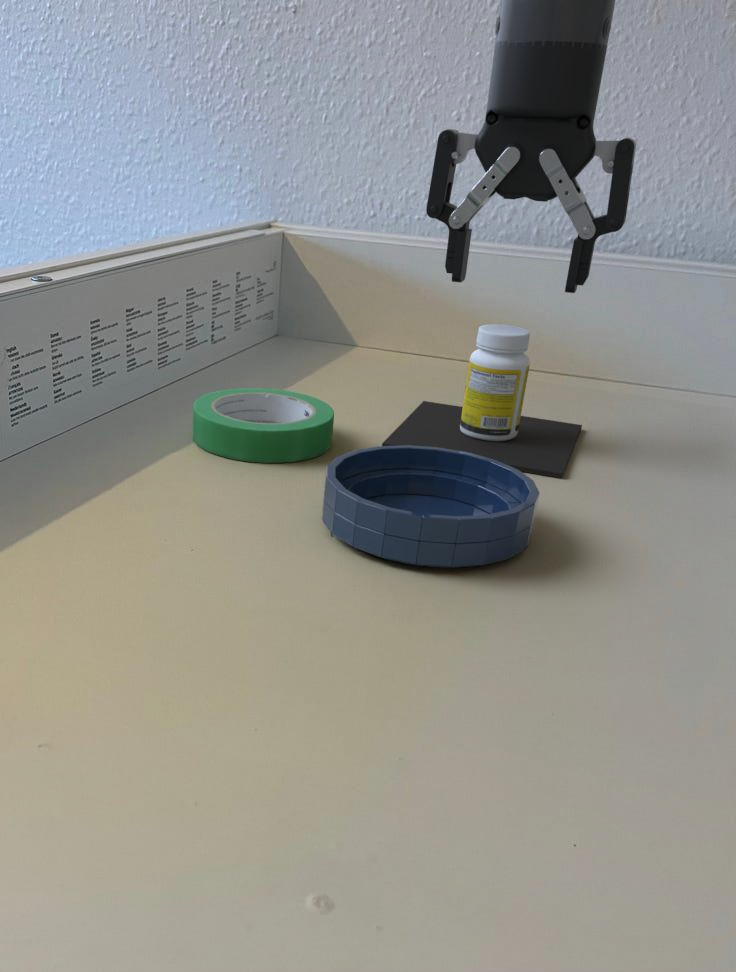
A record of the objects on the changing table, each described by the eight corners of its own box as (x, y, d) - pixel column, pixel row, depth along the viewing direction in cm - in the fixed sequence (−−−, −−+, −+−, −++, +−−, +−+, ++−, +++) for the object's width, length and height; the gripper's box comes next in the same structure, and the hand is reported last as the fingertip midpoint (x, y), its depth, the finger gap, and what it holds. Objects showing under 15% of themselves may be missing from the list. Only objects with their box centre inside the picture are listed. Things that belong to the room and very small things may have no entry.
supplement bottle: (483, 421, 84) (500, 320, 80) (528, 436, 81) (548, 332, 77) (446, 430, 82) (462, 326, 78) (491, 446, 79) (510, 338, 75)
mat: (581, 429, 85) (582, 424, 85) (561, 478, 74) (563, 473, 74) (422, 405, 90) (423, 400, 89) (381, 448, 78) (382, 443, 78)
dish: (541, 515, 67) (551, 465, 65) (509, 592, 56) (520, 535, 55) (355, 481, 71) (360, 434, 69) (293, 547, 60) (297, 493, 59)
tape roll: (322, 470, 73) (325, 434, 72) (177, 454, 74) (177, 419, 73) (338, 426, 82) (341, 395, 81) (209, 413, 84) (210, 382, 83)
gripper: (662, 44, 69) (613, 288, 77) (459, 39, 73) (432, 271, 81) (659, 37, 62) (605, 303, 70) (437, 33, 67) (410, 284, 75)
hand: (513, 286), depth 76 cm, fingers open, 8 cm apart
